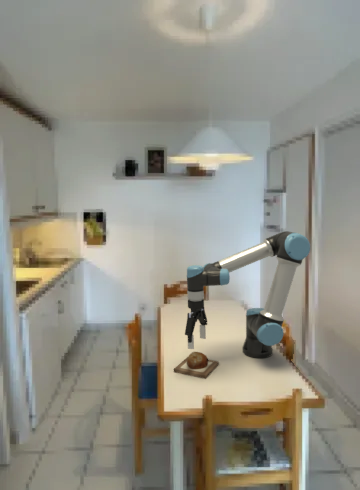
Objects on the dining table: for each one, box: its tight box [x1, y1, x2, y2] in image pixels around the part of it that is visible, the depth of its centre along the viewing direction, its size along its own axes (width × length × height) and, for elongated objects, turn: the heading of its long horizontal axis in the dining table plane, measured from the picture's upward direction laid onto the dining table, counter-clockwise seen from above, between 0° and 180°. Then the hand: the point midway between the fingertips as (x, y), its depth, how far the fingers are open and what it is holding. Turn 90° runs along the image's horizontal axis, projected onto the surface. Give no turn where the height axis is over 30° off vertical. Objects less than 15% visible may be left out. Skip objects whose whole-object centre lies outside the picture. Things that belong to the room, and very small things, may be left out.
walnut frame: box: [173, 356, 220, 380], centre depth 177 cm, size 16×16×2 cm
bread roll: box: [186, 351, 209, 369], centre depth 177 cm, size 10×10×8 cm
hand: (197, 343), depth 176 cm, fingers open, 13 cm apart
